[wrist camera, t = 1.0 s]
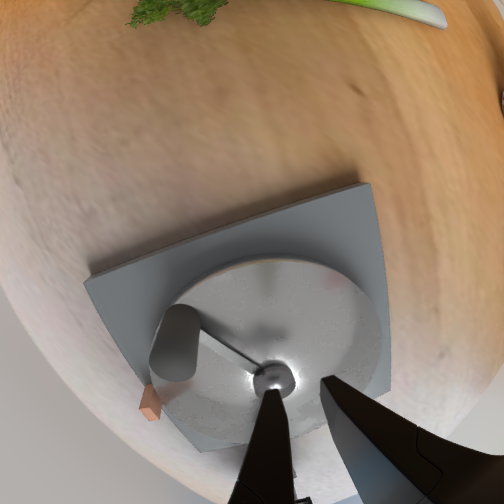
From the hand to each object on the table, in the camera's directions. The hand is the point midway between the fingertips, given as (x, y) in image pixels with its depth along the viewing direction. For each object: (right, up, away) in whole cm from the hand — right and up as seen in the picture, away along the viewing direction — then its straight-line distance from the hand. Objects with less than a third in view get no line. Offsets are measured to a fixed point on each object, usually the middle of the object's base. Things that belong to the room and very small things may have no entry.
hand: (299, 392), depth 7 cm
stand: (0, -4, +15) cm, 15 cm away
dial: (0, -4, +13) cm, 14 cm away
